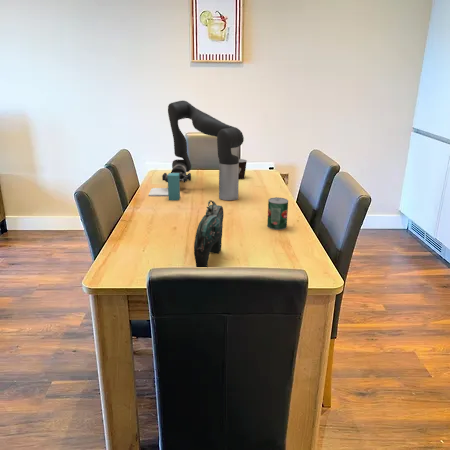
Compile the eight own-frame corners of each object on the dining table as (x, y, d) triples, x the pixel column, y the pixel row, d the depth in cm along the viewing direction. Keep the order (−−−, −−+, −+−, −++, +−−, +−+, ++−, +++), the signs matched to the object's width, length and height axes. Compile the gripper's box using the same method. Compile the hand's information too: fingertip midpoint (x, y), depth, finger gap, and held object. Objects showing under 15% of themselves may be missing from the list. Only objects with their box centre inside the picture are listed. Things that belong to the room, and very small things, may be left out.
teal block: (180, 197, 216) (179, 173, 212) (179, 200, 211) (178, 175, 207) (169, 197, 216) (168, 173, 212) (168, 200, 211) (167, 175, 207)
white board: (175, 189, 229) (175, 188, 228) (173, 196, 217) (173, 194, 217) (152, 189, 229) (152, 187, 228) (148, 196, 217) (148, 194, 217)
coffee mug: (249, 177, 254) (249, 160, 250) (241, 180, 247) (241, 162, 243) (231, 174, 260) (231, 157, 256) (223, 177, 253) (223, 160, 249)
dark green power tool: (210, 247, 159) (210, 193, 152) (227, 249, 157) (228, 194, 150) (190, 270, 141) (189, 210, 134) (210, 273, 139) (209, 212, 132)
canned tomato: (289, 229, 176) (291, 202, 172) (269, 230, 175) (271, 203, 171) (283, 222, 184) (285, 197, 180) (265, 223, 182) (266, 197, 179)
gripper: (164, 165, 232) (160, 172, 217) (192, 165, 232) (189, 173, 217) (165, 179, 235) (161, 187, 220) (192, 179, 235) (190, 187, 220)
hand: (175, 180), depth 218 cm, fingers open, 8 cm apart
